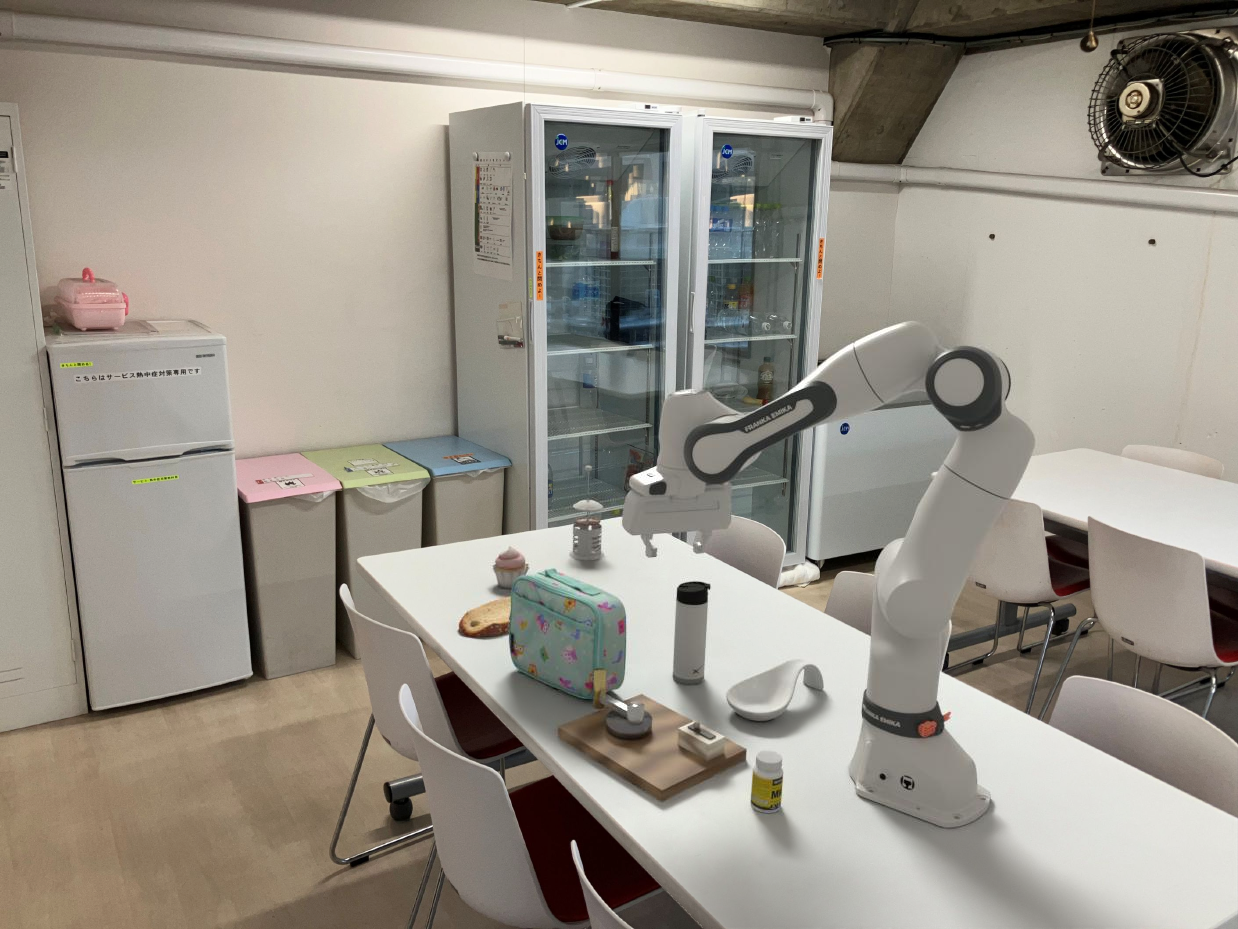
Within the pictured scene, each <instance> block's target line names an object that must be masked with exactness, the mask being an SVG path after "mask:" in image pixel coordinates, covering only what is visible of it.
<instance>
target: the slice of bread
mask: <svg viewBox="0 0 1238 929" xmlns="http://www.w3.org/2000/svg"><path fill="white" fill-rule="evenodd" d="M510 612H511V596H507V597H504V598H500V599H495V600H493V601H489V602H487V603H484V604H482V605H480V606H477V607H475V608H473V609H470V610H468V611H466V613H464V615H463V616H462V617H461V619H460V621H459V623H458V628H459V632H460V633H461V634H462V635H463V637H466V638H472V639H473V638H474V639H482V638H486V637H495V636H501V635H505V634H509V628H510V620H509V616H510Z"/></svg>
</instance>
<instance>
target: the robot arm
mask: <svg viewBox="0 0 1238 929" xmlns="http://www.w3.org/2000/svg"><path fill="white" fill-rule="evenodd" d="M1011 385H1012V379H1011V375H1010V371H1009V369H1008V367H1007V365H1006V363H1005V362H1004V361H1003V360H1002V358H1000V357H999V356H997V354H996V353H994V352H992V351H991V350H989V349H987V348H985V347H981V346H976V345H958V346H953V347H951V348H945V347H944V346H942V344H941V343H940V342H939V339H938V338H937V336H936V335H935V333H934V332H933V331H932V329H930V328H929V327H928V326H926V325H925V324H923V323H922V322H921V321H920V322H919V321H916V320H908V321H903V322H901V323H896V324H894V325H890V326H887V327H885V328H882V329H880V330H877V331H875V332H872V333H870V334H868V335H865V336H864V337H861V338H859V339H858V340H855V341H853V342H852V343H850V344H848V345H846V346H844V347H843V348H841V349H839V350H838V351H837V352H835V353H833V354H832V355H830V357H828V358H827V359H825V360H824V361H823V362H822V363H820V364H819V365H818V366H817V367H816V368H814V369H813V370H812V371H811V372H810V373H809V374H808V375H806V377H804V378H803V379H801V381H799V383H797V384H796V385H795V386H794V387H793V388H791V389H790V390H789V391H787V392H786V393H784V394H782V395H781V396H780V397H778V398H775V399H774V400H772V401H770V402H769V403H768V402H767V403H766V404H765V405H763V406H761V407H758V408H757V409H755V410H753V411H751V412H749V413H747V414H745V413H742V412H740V411H737V410H734V409H733V408H731V407H729V406H728V405H725V404H723V402H721V401H719V400H718V399H716V398H715V397H714V396H713V395H712V393H710V391H709V390H707V389H703V388H685V389H681V390H676V391H674V392H672V393H670V394H668V395H667V396H666V397H665V400H664V401H663V405H662V410H661V413H660V414H661V415H660V421H659V430H658V441H659V454H658V456H657V460H656V465H655V466H654V467H650V468H649V469H647V470H644V471H641V472H639V473H636V474H632V475H631V476H630V478H629V482H628V484H629V486H630V488H631V490H629V492H628V493H627V494H626V496H625V499H624V504H623V510H622V516H621V517H622V520H621V526H622V528H623V529H624V530H625V532H627V533H628V534H629V535H631V536H640V538H641V540H642V542H643V544H644V545H645V556H646V557H647V558H649V559H650V558H657V556H658V554H657V552H658V548H657V547H656V546H655V545H653V544H652V542H651V541H652V540H654V539H653V537H654V535H659V534H660V535H661V534H662V535H663V534H673V533H688V532H689V533H690V532H699V533H700V536H699V538H698V539H697V541H693V543H692V545H693V547H692V552H693V553H694V554H696V555H697V554H698V555H699V554H704V553H705V550H706V549H705V548H706V545H707V543H708V541H709V540H710V539H711V537H712V535H713V531H715V530H718V531H719V530H726V529H728V528H729V527H730V525H731V523H732V494H733V485H732V483H731V482H730V480H732V479H733V478H734V477H735V476H736V475H738V474H739V473H740V472H741V471H743V470H744V469H746V468H747V467H748V466H750V465H751V464H753V463H754V462H755V461H757V459H758V458H759V457H760V456H761V455H762V453H763V451H765V450H766V449H768V448H771V447H773V446H774V445H776V444H778V443H780V442H783V441H785V440H786V439H788V438H791V437H792V436H794V435H796V434H798V433H800V432H801V433H802V432H804V431H805V430H806V431H807V430H809V429H812V428H816V427H819V426H821V425H826V424H829V423H830V424H831V423H833V422H836V421H837V422H838V421H841V420H845V419H848V418H853V417H856V416H859V415H862V414H864V413H868V412H871V411H873V410H875V409H878V408H880V407H882V406H884V405H886V404H889V403H891V402H893V401H894V400H897V399H898V398H900V397H903V396H905V395H908V394H911V393H914V392H923V393H924V392H925V393H926V396H927V398H928V399H929V401H930V404H931V405H932V406H933V407H934V408H935V410H936V411H938V413H940V414H941V415H942V417H944V418H945V419H946V420H947V421H948V423H950V425H951V426H952V427H954V429H955V430H957V432H958V433H957V437H956V439H955V442H954V444H953V446H952V447H951V449H950V451H949V453H948V455H947V456H946V458H945V459H944V460H943V463H942V464H941V466H940V467H939V469H938V471H937V473H936V474H935V476H934V478H933V479H932V481H931V482H930V484H929V486H928V488H927V489H926V491H925V492H924V494H923V496H922V498H921V499H920V502H919V503H918V505H917V507H916V509H915V512H914V516H913V518H912V521H911V523H910V525H909V528H908V530H907V532H906V534H905V536H904V537H901V538H896V539H894V540H892V541H891V542H889V543H888V544H886V546H885V547H884V548H883V549H882V550H881V552H880V554H879V556H878V558H877V559H876V562H875V566H874V575H873V576H874V577H873V580H874V581H873V592H872V594H873V595H872V605H871V606H872V608H871V609H872V610H871V611H872V612H871V627H870V628H871V629H870V647H869V648H870V649H869V657H868V658H869V659H868V660H869V661H868V670H867V679H866V681H867V682H866V687H865V689H864V690H863V694H862V695H863V696H862V702H861V718H862V721H861V722H862V723H861V727H860V733H859V736H858V741H857V744H856V747H855V750H854V753H853V756H852V758H851V760H850V763H849V765H848V772H849V775H850V777H851V779H852V780H853V781H854V783H855V787H854V788H855V793H856V794H857V795H858V796H860V797H862V798H865V799H868V800H871V801H872V802H875V803H878V804H881V805H883V806H886V807H888V808H891V809H893V810H897V811H899V812H902V813H905V814H907V815H909V816H912V817H915V818H918V819H920V820H923V821H925V822H928V823H931V824H933V825H936V826H938V827H942V828H947V829H948V828H949V829H950V828H958V827H963V826H965V825H968V824H970V823H972V822H975V821H976V820H977V819H979V818H980V817H981V816H982V815H984V814H985V813H986V812H987V811H988V810H989V808H990V806H991V800H992V796H991V792H990V790H988V789H987V788H985V787H984V786H982V785H980V784H979V783H978V773H977V772H978V770H977V767H976V764H975V761H974V759H973V758H972V757H971V756H970V754H968V753H967V751H966V750H965V749H964V748H963V747H962V746H961V744H959V742H958V741H957V740H956V739H955V737H954V736H952V735H951V733H950V732H949V731H948V729H947V728H946V727H945V723H946V722H947V721H949V720H950V719H951V714H952V712H951V711H948V712H946V713H944V714H943V713H942V710H941V707H940V703H939V701H938V694H939V692H938V691H939V682H940V675H941V674H940V673H941V665H942V631H944V630H945V629H946V627H947V626H948V624H949V623H950V620H951V618H952V615H953V612H954V608H955V607H956V606H955V605H956V603H957V602H958V599H959V598H960V595H961V593H962V591H963V589H964V587H965V585H966V583H967V581H968V578H969V575H970V574H971V571H972V570H973V566H974V565H975V562H976V559H977V557H978V555H979V552H980V550H981V548H982V546H983V545H984V542H985V540H986V539H987V537H988V535H989V534H990V532H991V531H992V529H993V527H994V525H995V524H996V522H997V521H998V519H999V518H1000V516H1001V514H1002V512H1003V511H1004V509H1005V508H1006V506H1007V505H1008V503H1009V502H1010V499H1011V498H1012V496H1013V495H1014V493H1015V491H1016V490H1017V488H1018V486H1019V484H1020V482H1021V480H1022V479H1023V476H1024V474H1025V472H1026V470H1027V468H1028V465H1029V462H1030V460H1031V458H1032V455H1033V452H1034V449H1035V446H1036V438H1035V434H1034V432H1033V431H1032V429H1031V428H1030V426H1029V425H1028V424H1027V423H1026V422H1025V421H1024V420H1022V419H1021V418H1019V417H1018V416H1017V415H1014V414H1013V413H1011V412H1010V411H1009V409H1008V408H1007V406H1006V401H1007V399H1008V397H1009V395H1010V391H1011Z"/></svg>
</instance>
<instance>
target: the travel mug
mask: <svg viewBox="0 0 1238 929" xmlns="http://www.w3.org/2000/svg"><path fill="white" fill-rule="evenodd" d="M711 587H712V586H711V583H707V582H705V581H700V580H699V581H698V580H697V581H695V580H694V581H686V582H683V583H680V584H679V585H678V586H677V588H676V598H675V615H674V616H675V618H674V619H675V620H674V637H673V638H674V641H673V663H672V665H673V666H672V678H673V679H674V681H675V682H677V683H680V684H683V685H698V684H700V683H702V681H704V680H705V666H706V647H707V646H706V645H707V643H706V642H707V630H708V629H707V628H708V627H707V625H708V606H709V597H708V596H709V591H710V590H711Z"/></svg>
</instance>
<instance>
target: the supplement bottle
mask: <svg viewBox="0 0 1238 929" xmlns="http://www.w3.org/2000/svg"><path fill="white" fill-rule="evenodd" d="M782 766H783V757H782V755H781V754H780V753H778V752H776V751H773V750H761V751H758V752H757V753H756V756H755V765H753V767H752V774H751V776H752V777H751V778H752V779H751V791H750V806H751V807H752V808H753V809H754V810H756V811H758V812H759V813H764V814H772V813H776V812H777V811H779V810H780V809H781V806H782V796H783V794H782V793H783V781H784V768H783V767H782Z"/></svg>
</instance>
